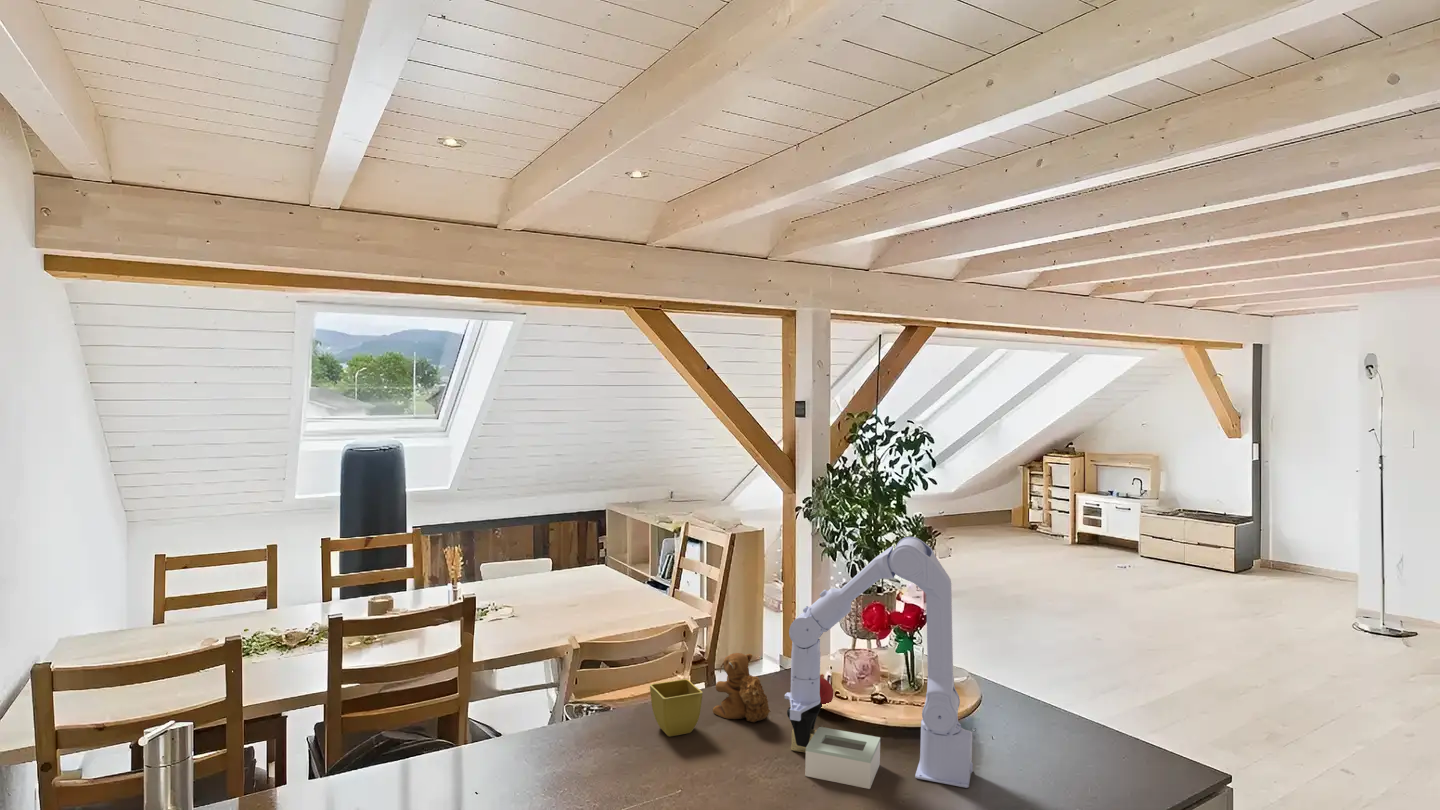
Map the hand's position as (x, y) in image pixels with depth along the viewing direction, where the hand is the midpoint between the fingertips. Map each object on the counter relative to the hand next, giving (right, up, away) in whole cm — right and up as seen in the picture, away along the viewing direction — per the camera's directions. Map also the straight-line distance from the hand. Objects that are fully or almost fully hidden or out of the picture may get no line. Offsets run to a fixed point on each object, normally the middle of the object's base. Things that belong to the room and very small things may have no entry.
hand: (803, 742), depth 159 cm
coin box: (+7, -2, -8) cm, 10 cm away
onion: (+6, -1, +20) cm, 21 cm away
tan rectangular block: (0, -1, 0) cm, 1 cm away
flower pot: (-26, -1, +8) cm, 27 cm away
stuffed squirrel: (-11, -1, +16) cm, 20 cm away
